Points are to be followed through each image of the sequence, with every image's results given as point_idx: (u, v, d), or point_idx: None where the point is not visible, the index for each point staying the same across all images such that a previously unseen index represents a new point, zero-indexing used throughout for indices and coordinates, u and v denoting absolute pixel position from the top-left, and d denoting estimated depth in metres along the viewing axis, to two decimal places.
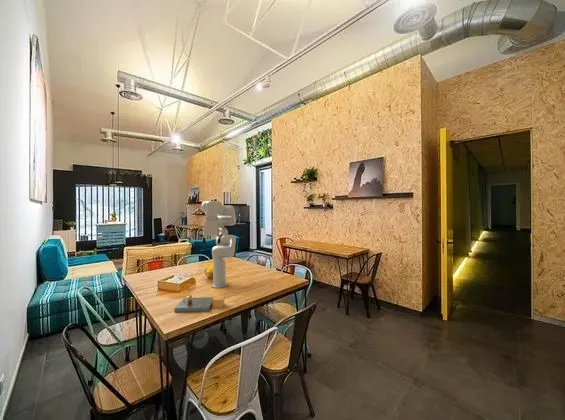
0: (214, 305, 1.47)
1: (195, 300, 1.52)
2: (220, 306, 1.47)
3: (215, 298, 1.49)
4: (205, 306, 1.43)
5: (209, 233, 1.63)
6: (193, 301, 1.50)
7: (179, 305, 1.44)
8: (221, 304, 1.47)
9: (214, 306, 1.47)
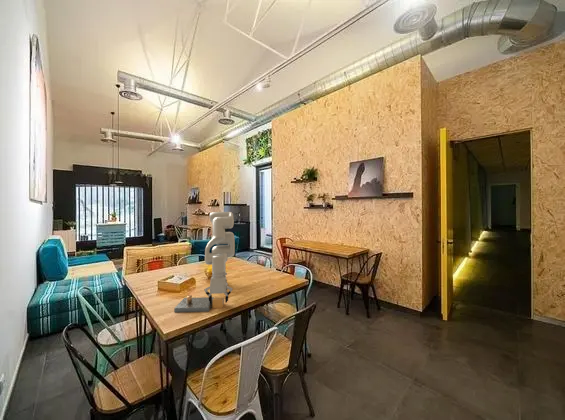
0: (214, 305, 1.47)
1: (195, 300, 1.52)
2: (220, 306, 1.47)
3: (215, 298, 1.49)
4: (205, 306, 1.43)
5: (216, 291, 1.47)
6: (193, 301, 1.50)
7: (179, 305, 1.44)
8: (221, 304, 1.47)
9: (214, 306, 1.47)
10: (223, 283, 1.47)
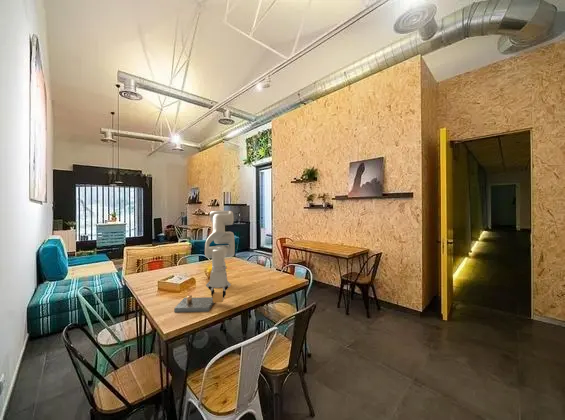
0: (214, 300, 1.48)
1: (195, 300, 1.52)
2: (220, 301, 1.48)
3: (215, 293, 1.50)
4: (205, 306, 1.43)
5: (216, 284, 1.48)
6: (193, 301, 1.50)
7: (179, 305, 1.44)
8: (221, 299, 1.48)
9: (214, 301, 1.48)
10: (223, 277, 1.48)
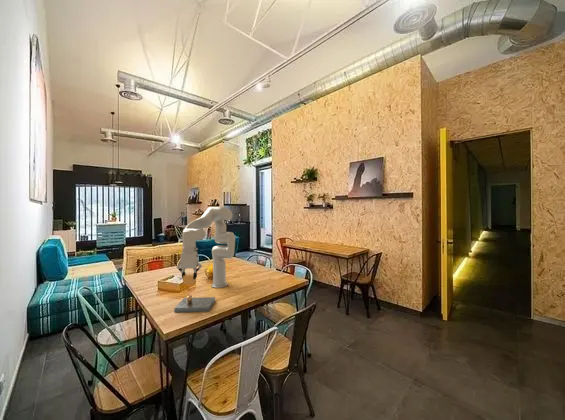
0: (184, 281, 1.46)
1: (195, 300, 1.52)
2: (191, 282, 1.46)
3: (186, 275, 1.48)
4: (205, 306, 1.43)
5: (186, 266, 1.46)
6: (193, 301, 1.50)
7: (179, 305, 1.44)
8: (192, 280, 1.46)
9: (184, 282, 1.46)
10: (193, 258, 1.46)
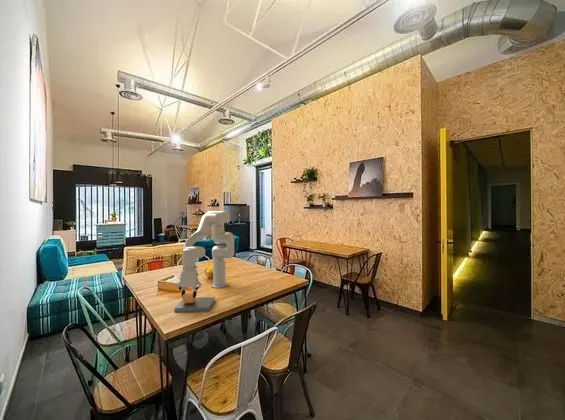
0: (184, 300, 1.46)
1: (195, 300, 1.52)
2: (190, 301, 1.46)
3: (186, 293, 1.48)
4: (205, 306, 1.43)
5: (186, 285, 1.46)
6: None
7: (179, 305, 1.44)
8: (191, 299, 1.46)
9: (184, 301, 1.46)
10: (193, 277, 1.46)
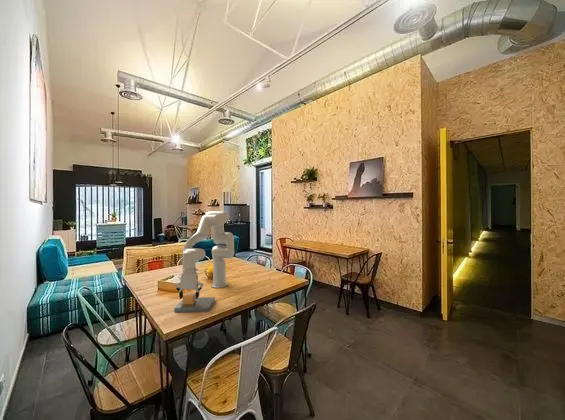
0: (184, 301, 1.46)
1: None
2: (190, 302, 1.46)
3: (186, 294, 1.48)
4: (205, 306, 1.43)
5: (186, 287, 1.46)
6: None
7: (179, 305, 1.44)
8: (191, 300, 1.46)
9: (184, 302, 1.46)
10: (193, 279, 1.47)
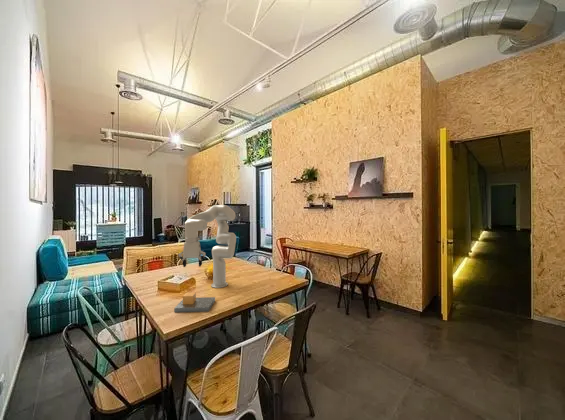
0: (184, 301, 1.46)
1: None
2: (190, 302, 1.46)
3: (186, 294, 1.48)
4: (205, 306, 1.43)
5: (189, 255, 1.52)
6: None
7: (179, 305, 1.44)
8: (191, 300, 1.46)
9: (184, 302, 1.46)
10: (196, 248, 1.52)
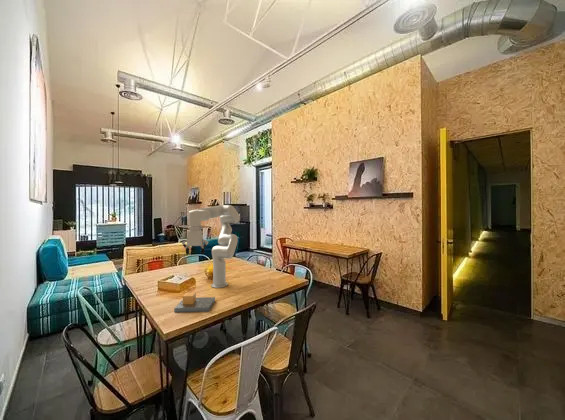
0: (184, 301, 1.46)
1: None
2: (190, 302, 1.46)
3: (186, 294, 1.48)
4: (205, 306, 1.43)
5: (192, 243, 1.58)
6: None
7: (179, 305, 1.44)
8: (191, 300, 1.46)
9: (184, 302, 1.46)
10: (199, 236, 1.58)
